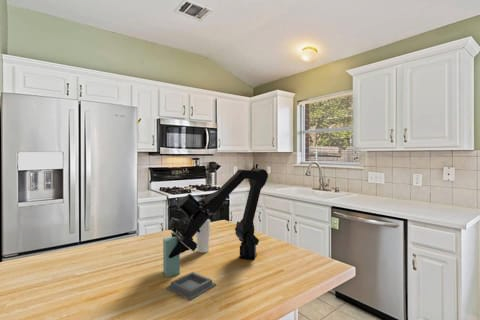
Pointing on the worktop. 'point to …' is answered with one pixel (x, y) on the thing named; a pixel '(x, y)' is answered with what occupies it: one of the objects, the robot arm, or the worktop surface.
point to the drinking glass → (203, 237)
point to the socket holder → (191, 285)
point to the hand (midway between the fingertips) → (167, 255)
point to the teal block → (170, 264)
